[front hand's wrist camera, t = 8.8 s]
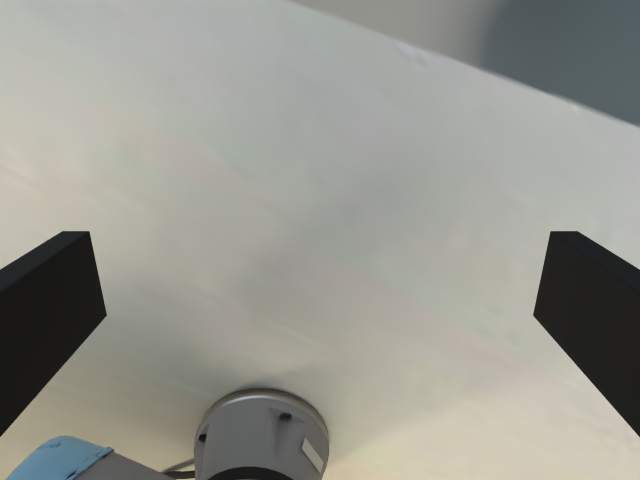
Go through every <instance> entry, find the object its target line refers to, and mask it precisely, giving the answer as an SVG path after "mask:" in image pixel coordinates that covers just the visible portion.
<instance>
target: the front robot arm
mask: <svg viewBox="0 0 640 480" xmlns="http://www.w3.org/2000/svg"><path fill="white" fill-rule="evenodd" d="M106 316H107V314H106V309H105V304H104V300H103V295H102V290H101V285H100V280H99V276H98V271H97V266H96V261H95V256H94V251H93V247H92V242H91V237H90V232H89V231H62V232H61V233H59V234H57V235H56V236H54V237H52V238H51V239H49V240H48V241H46V242H44V243H43V244H41V245H39V246H38V247H36V248H35V249H33V250H31V251H30V252H28V253H27V254H25V255H23V256H22V257H20V258H18V259H17V260H15V261H14V262H12V263H10V264H9V265H7V266H5V267H4V268H2V269H1V270H0V437H1V436H2V434H3V433H4V432H5V431H6V430H7V429H8V428H9V426H10V425H11V424H12V423H13V422H14V421H15V420H16V418H17V417H18V416H19V415H20V414H21V413H22V412H23V410H24V409H25V408H26V407H27V406H28V405H29V404H30V402H31V401H32V400H33V399H34V398H35V397H36V396H37V395H38V393H39V392H40V391H41V390H42V389H43V388H44V387H45V385H46V384H47V383H48V382H49V381H50V380H51V379H52V377H53V376H54V375H55V374H56V373H57V372H58V371H59V369H60V368H61V367H62V366H63V365H64V364H65V363H66V361H67V360H68V359H69V358H70V357H71V356H72V355H73V353H74V352H75V351H76V350H77V349H78V348H79V347H80V345H81V344H82V343H83V342H84V341H85V340H86V339H87V337H88V336H89V335H90V334H91V333H92V332H93V331H94V329H95V328H96V327H97V326H98V325H99V324H100V323H101V321H102V320H103V319H104V318H105V317H106ZM533 316H534V317H535V318H536V319H537V320H538V321H539V323H540V324H541V325H542V326H543V327H544V328H545V329H546V331H547V332H548V333H549V334H550V335H551V336H552V337H553V339H554V340H555V341H556V342H557V343H558V344H559V345H560V347H561V348H562V349H563V350H564V351H565V352H566V353H567V355H568V356H569V357H570V358H571V359H572V360H573V361H574V363H575V364H576V365H577V366H578V367H579V368H580V369H581V371H582V372H583V373H584V374H585V375H586V376H587V377H588V379H589V380H590V381H591V382H592V383H593V384H594V385H595V387H596V388H597V389H598V390H599V391H600V392H601V393H602V395H603V396H604V397H605V398H606V399H607V400H608V401H609V402H610V404H611V405H612V406H613V407H614V408H615V409H616V410H617V412H618V413H619V414H620V415H621V416H622V417H623V418H624V420H625V421H626V422H627V423H628V424H629V425H630V426H631V428H632V429H633V430H634V431H635V432H636V433H637V434H638V436H639V437H640V270H639V269H638V268H636V267H635V266H633V265H631V264H630V263H628V262H626V261H625V260H623V259H622V258H620V257H618V256H617V255H615V254H613V253H612V252H610V251H609V250H607V249H605V248H604V247H602V246H601V245H599V244H597V243H596V242H594V241H592V240H591V239H589V238H588V237H586V236H584V235H583V234H581V233H579V232H578V231H551V232H550V237H549V242H548V247H547V251H546V256H545V261H544V266H543V271H542V276H541V280H540V285H539V290H538V295H537V300H536V304H535V309H534V314H533ZM328 455H329V441H328V433H327V429H326V426H325V424H324V422H323V420H322V418H321V417H320V416H319V414H318V413H317V412H316V411H315V410H314V409H313V408H312V407H311V406H310V405H308V404H307V403H306V402H304V401H303V400H301V399H299V398H297V397H295V396H293V395H291V394H288V393H285V392H281V391H276V390H270V389H250V390H244V391H239V392H236V393H233V394H230V395H228V396H226V397H224V398H222V399H220V400H219V401H217V402H216V403H215V404H214V405H212V406H211V407H210V408H209V409H208V411H207V412H206V413H205V415H204V416H203V418H202V420H201V422H200V425H199V428H198V431H197V434H196V437H195V445H194V462H195V471H184V472H181V471H174V472H168V473H165V474H162V473H160V472H158V471H155V470H153V469H151V468H149V467H146V466H144V465H142V464H140V463H137V462H135V461H133V460H130V459H128V458H126V457H124V456H121V455H119V454H117V453H115V452H114V449H112V448H110V447H107V448H103V447H100V446H97V445H95V444H92V443H89V442H87V441H84V440H81V439H78V438H76V437H72V436H60V437H56V438H54V439H51V440H49V441H47V442H46V443H44V444H42V445H41V446H40V447H38V448H37V449H36V450H35V451H34V452H33V453H31V454H30V455H29V456H28V457H27V458H26V459H25V460H24V461H23V462H22V463H21V464H20V465H19V466H18V467H17V468H16V469H15V470H14V471H13V472H12V473H11V474H10V475H9V476H8V477H7V479H6V480H176V479H189V478H195V480H321V479H322V477H323V474H324V471H325V468H326V465H327V461H328Z"/></svg>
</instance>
